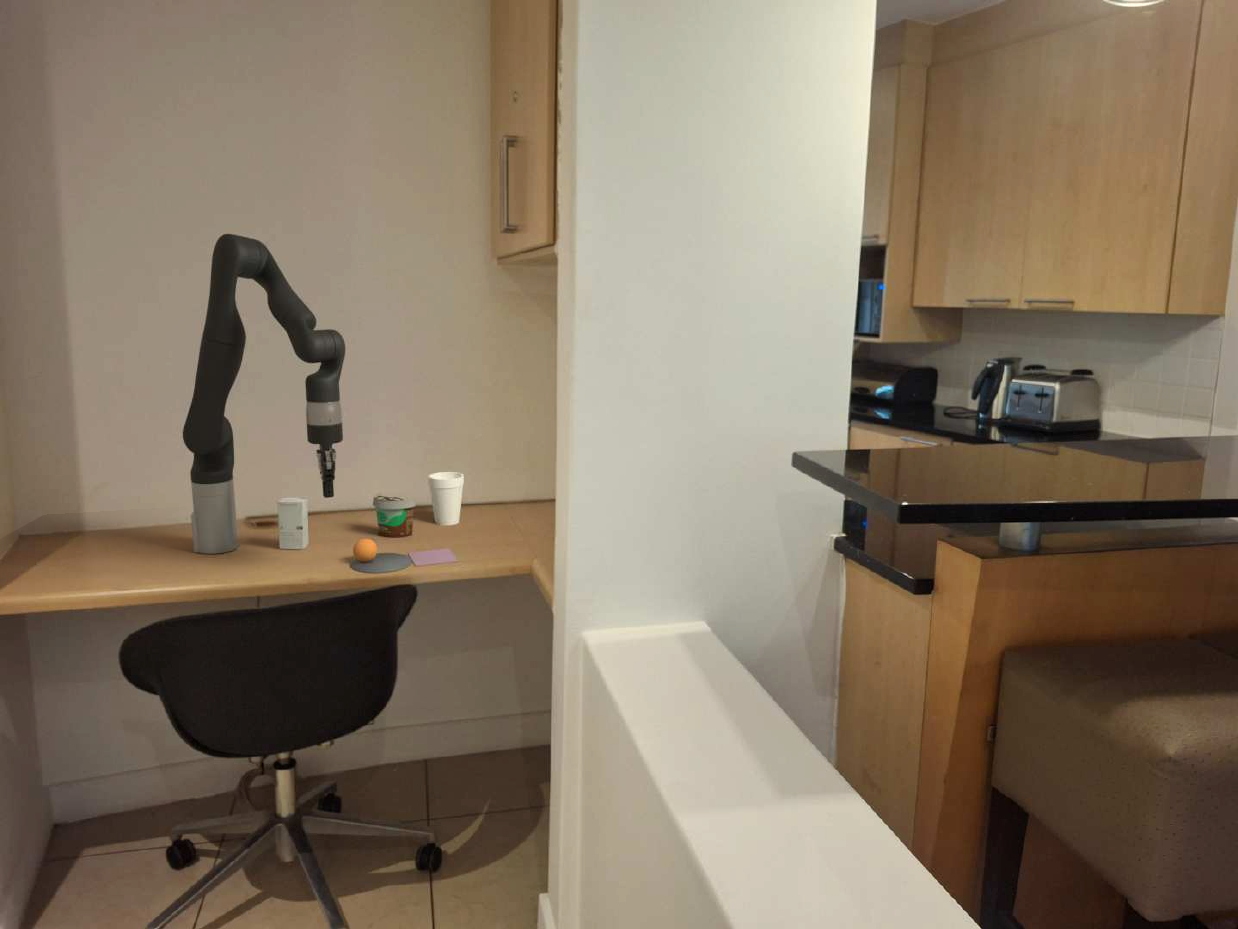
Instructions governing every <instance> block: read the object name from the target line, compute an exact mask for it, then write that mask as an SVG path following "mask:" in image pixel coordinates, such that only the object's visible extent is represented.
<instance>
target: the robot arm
mask: <svg viewBox="0 0 1238 929" xmlns="http://www.w3.org/2000/svg"><path fill="white" fill-rule="evenodd" d="M210 269H211V270H210V282H209V283H210V284H209V294H208V302H207V310H206V316H205V321H204V327H203V331H202V335H201V341H200V346H199V351H198V359H197V360H198V361H197V364H196V365H197V366H196V372H195V382H194V389H193V395H192V399H191V401H190V406H189V409H188V413H187V416H186V419H185V421H184V424H183V428H182V429H183V430H182V439H183V443H184V445H185V446H186V449H187V450H188V451H190V452H191V453H192V454H193V462H192V464H191V465H192V466H191V468H190V472H189V473H190V476H189V477H190V483H191V495H192V496H191V497H192V506H193V512H192V513H191V514H190V518H191V519H190V521H191V531H192V540H193V541H192V542H193V552H194V553H200V554H205V555H214V554H223V553H228V552H232V551H235V550H237V549H238V548H239V535H238V524H237V522H238V521H237V513H236V512H237V509H236V498H235V496H236V495H235V486H234V485H235V484H234V472H233V471H234V466H235V446H234V432H233V428H232V425H231V423H230V421H229V418H226V416H225V411H226V405H227V402H228V398H229V395H230V393H231V390H232V389H233V385H234V384H235V381H236V379H237V377H238V374H239V372H240V369H241V367H242V364H243V359H244V353H245V352H244V351H245V348H246V342H247V340H246V339H247V334H246V330H245V327H244V323H243V320H242V317H241V315H240V312H239V310H238V307H237V302H236V291H237V283H238V279H239V278H242V279H247V280H253V281H254V282H256V283H257V284H258V285H259V286H261V288H263V289H264V290H265V292H266V299H267V300H266V301H267V306H268V309H269V311H270V313H271V315H272V317H273V318H274V319H275V320H276V322H277V323H278V324H279V325H280V326H281V327H282V328H283V330H284V331H285V332H286V334H287V336H288V338H289V342H290V344H291V346H292V349H293V352H294V354H295V355H296V356H297V357H298V359H300V360H301V361H302V362H304V363H307V364H317V363H318V364H319V363H320V365H319V368H318V370H316V371H315V372H314V373H311V374H308V375H307V376H306V377H305V384H304V385H305V400H306V405H305V406H306V407H305V419H306V434H307V435H306V438H307V442H308V443H309V444H312V445H319V446H318V447H319V449H315V453H316V454H315V455H316V457H317V465H318V466H317V467H318V470H319V475H320V479H321V482H322V495H323V498H325V499H329V498H330V499H331V498H333V497H334V496H335V492H334V489H335V488H334V480H335V478H336V476H335V474H336V473H335V472H336V459H337V451H336V449H335V448H333V445H334V444H338V443H342V442H343V439H344V430H343V428H344V427H343V414H342V413H343V412H342V406H341V396H340V392H341V391H340V379H341V375H342V369H343V365H344V361H345V355H346V343H345V340H344V338H343V336H342V334H341V333H340V332H339V331H338V330H336V329H332V328H331V329H327V328H326V329H315V328H316V326H317V318H316V316H315V314H314V313H313V311H312V310H311V309H310V308H309V307H308V306H307V305H306V303H305V302H304V301H303V300H302V299H301V298H300V296H298V294H297V293H296V292H295V291H294V289H293V287H292V286H291V285H290V284H289V282H288V279H287V278H286V277H285V275H284V273H283V272H282V270H281V269H280V266H279V265H278V263H277V262H276V260H275V258H274V256H273V254H272V253H271V252H270V250H269V249H268V247H267V246H266V245H265V244H264V243H263V242H262V241H260V240H258V239H256V238H251V237H247V236H243V235H237V234H233V233H225V234H224V233H223V234H222V235H221V236H219V237H218V239H217V240H216V242H215V245H214V247H213V251H212V257H211V266H210Z"/></svg>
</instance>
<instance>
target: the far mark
mask: <svg viewBox="0 0 1238 929" xmlns="http://www.w3.org/2000/svg"><path fill="white" fill-rule="evenodd" d="M407 555H408V556H409V557H410V558H411V559H412V563H413V565H414V566H415V567H422V566H430V565H431V566H433V565H441V564H449V563H450V564H451V563H458V562H459V560H458V559H457V557H456V556H455V554H454V553H453V552H452V550H451V549H450V548H441V549H433V550H432V549H431V550H420V551H414V552H407Z"/></svg>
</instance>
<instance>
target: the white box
mask: <svg viewBox="0 0 1238 929" xmlns="http://www.w3.org/2000/svg"><path fill="white" fill-rule="evenodd" d="M277 516H278V520H277V521H278V541H279V542H278V543H279V544H278V545H279V549H280V550H304V549H305V548H307V547H308V545H309V523H308V520H309V519H308V518H309V516H308V498H307V497H295V496H294V497H292V496H291V497H287V496H286V497H282V498H281V499H279V500H278V501H277Z"/></svg>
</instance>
